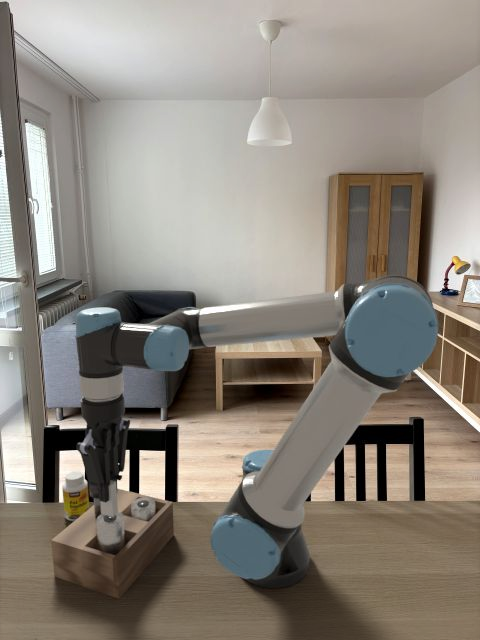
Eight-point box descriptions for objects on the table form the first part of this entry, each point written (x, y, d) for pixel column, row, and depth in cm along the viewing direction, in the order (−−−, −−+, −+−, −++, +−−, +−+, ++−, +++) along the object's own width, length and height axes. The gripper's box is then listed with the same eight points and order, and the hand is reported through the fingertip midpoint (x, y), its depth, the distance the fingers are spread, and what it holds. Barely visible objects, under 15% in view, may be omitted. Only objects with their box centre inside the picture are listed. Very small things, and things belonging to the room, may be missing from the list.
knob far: (161, 538, 109) (159, 499, 108) (148, 552, 105) (146, 512, 103) (141, 532, 111) (139, 494, 109) (128, 546, 107) (126, 507, 105)
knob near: (131, 555, 99) (128, 513, 97) (115, 572, 94) (113, 528, 92) (109, 549, 101) (107, 507, 99) (93, 565, 96) (90, 521, 94)
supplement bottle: (68, 525, 114) (65, 484, 112) (61, 513, 119) (58, 473, 116) (92, 517, 117) (90, 476, 115) (85, 505, 122) (82, 466, 119)
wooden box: (173, 535, 111) (172, 502, 109) (119, 598, 92) (116, 560, 91) (116, 519, 116) (114, 487, 114) (54, 576, 98) (51, 540, 96)
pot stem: (110, 513, 105) (108, 482, 103) (100, 521, 102) (98, 490, 101) (98, 509, 106) (95, 479, 105) (88, 518, 103) (85, 486, 102)
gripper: (107, 380, 98) (113, 491, 103) (60, 404, 86) (69, 528, 91) (140, 385, 95) (145, 499, 100) (96, 411, 83) (104, 538, 88)
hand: (109, 513), depth 95 cm, fingers closed
